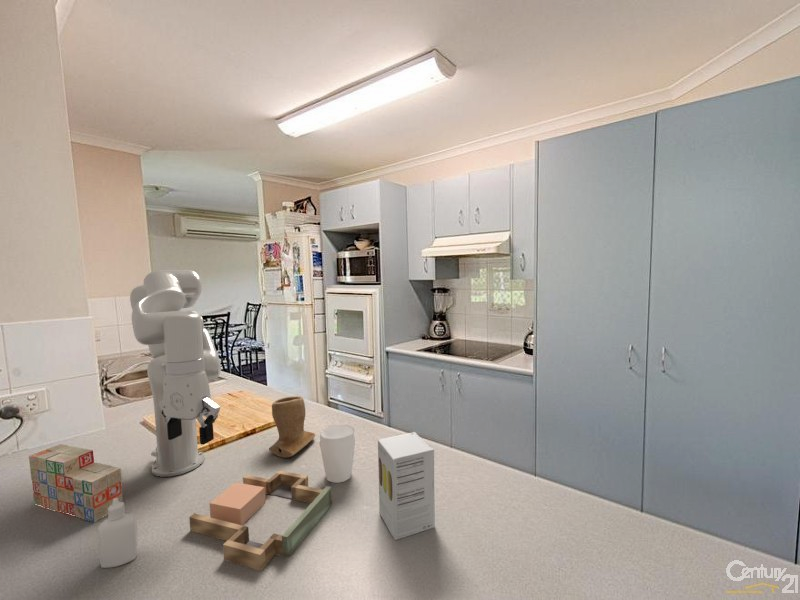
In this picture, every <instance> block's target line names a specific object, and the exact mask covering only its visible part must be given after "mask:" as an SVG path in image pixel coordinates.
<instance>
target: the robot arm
mask: <svg viewBox="0 0 800 600" xmlns="http://www.w3.org/2000/svg"><path fill="white" fill-rule="evenodd" d="M202 291H203V283H202V280H201V277H200V275H199V274H198V273H197V272H196V271H195V270H192V269H159V270H153V271H151V272H149V273H148V274H147V275H145V277H144V278H143V284H142V285H137V286H136V287H134V288H133V289H132V290H131V292H130V295H129V301H130V302H129V303H130V306H131V310H132V312H131V324H132V330H133V335H134V337H135V339H136V341H137V342H138V343H139V344H141V345H145V346H148V350H149V353H150V356H151V357H152V358H153V359H152V360H151V361H150V362H149V363H148V365H147V368H146V369H147V370H146V371H147V378H148V381H149V386H150V389H151V395H152V399H153V411H154V422H155V423H154V424H155V435H156V436H155V437H156V447H155V450H152V451H151V453H150V455H151V456H152V457H155V459H156V462H154V463H153V465H152V466H151V472H152V474H153V476H155V477H159V476H160V477H161V478H166V477H169V478H170V477H174V476H179V475H183V474H186V473H188V472H191V471H193V470H194V469H196V468H198V467H200V466H201V465H202V463H203V462H204V461H205V454H204V452H203V451H201V452H199V453H198V451H199V446H198V434H197V432H198V431H199V443H200V445H201V446H203V445H206V444H208V443H210V442H211V441H213V440H214V436H215V435H214V424H215V422H216V420H217V419H218V416H219V412H220V410H221V406H219V405H218V404H217V403H216V402H214V401H213V400H212V398H211V395H212V394H211V389H210V384H209V382H212V381H215V380H217V379H218V378H219V376H220V375H221V371H222V365H221V360H220V357H219V354H218V352H217V349H216V346H215V344H214V341H213V339H212V336H211V333H210V332H209V330H208V329H207V328H206V327H204V325H205V323H204V319H203V316H202V315H200V313H199V312H198V311H195V310H190V309H189V308H192V307H194V306H195V305H196V302H197V300H199V298H200V295H201V293H202ZM183 309H187V310H183ZM188 309H189V310H188ZM204 417H205V418H204ZM197 421H198V423H199V425H200V426H199V428H198V429H197ZM197 430H198V431H197ZM200 464H201V465H200Z"/></svg>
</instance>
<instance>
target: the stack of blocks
mask: <svg viewBox="0 0 800 600" xmlns="http://www.w3.org/2000/svg"><path fill="white" fill-rule="evenodd" d="M28 461H29V468H30V469H29V471H30V477H31V478H30V479H31V481H32V482H31V483H32V484H31V485H32V490H33V491H32V492H33V493H32V495H33V503H34V505H35V504H37V505H41V506H43V507H45V508H44V509H46V508H49V509H51V510H50V511H52V510H55V511H61V512H64V513H69V514H72V515H75V516H76V517H75V516H74V517H75V518H77V517H79V518H78V519H80V518H82V519H81V520H84V519H86V520H85V521H87V520H89V521H88V522H90V521H92V522H91V523H96V522H97V520H98V521H99V519H100V518H101V519H103V518H104V517H103V516H105V515H106V516H108V515H107V514H108V507H109V506H111V505H112V503H113V499H114V498H118V500H119V502H123V500H124V499H123V489H122V488H123V487H122V479H123V478H122V468H121V467H118V466H114V465H113V466H112V465H111V464H110V465H109V464H105V463H104V464H103V463H100V462H99V463H98V462H95V458H94V451H93V449H88V448H81V447H77V446H71V445H67V444H61V443H60V444H57V445H54V446H52V447H49V448H46V449H44V450H42V451H39V452H36V453H33V454H31V455H29V456H28ZM123 503H124V502H123ZM37 505H36V506H37ZM49 509H48V510H49ZM55 511H54V512H55ZM64 513H63V514H64ZM106 516H105V517H106ZM102 517H103V518H102ZM101 519H100V520H101ZM95 521H96V522H95Z"/></svg>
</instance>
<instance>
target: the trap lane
mask: <svg viewBox="0 0 800 600" xmlns="http://www.w3.org/2000/svg"><path fill="white" fill-rule="evenodd" d="M242 484H248V485H254V486H260V487H265V495H271V496H275V497H280V498H283V499H284V498H285V499H289V500H295V501H298V502H299V501H300V502H302V503H303V502H304V503H308V504H309V505H308V506H307V508H305V510H304V511H302V513H301V514H300V515H299V516H298V518H296V520H295V521H294V522H292V524H291V525H290V526H289V527H288V528H287V529H286V531H285V532H284V533H283V534H279V533H273V534H272V535H270V537H268V538H267V540H266V541H265V542H264V543H260V542H256V541H253V540H250V535H249V534H250V533H249V526H246V525H238V524H234V523H230V522H226V521H222V520H219V519H215V518H211V517H210V516H206V515H202V514H198V513H193V514H192V515H190V516H189V518H188V519H189V530H190V532H192V533H197V534H200V535H204V536H208V537H211V538H215V539H219V540H222V541H225V542H224V543H223V545H222V549H223V552H222V553H223V561H227V562H230V563H234V564H237V565H241V566H243V567H247V568H251V569H254V570H258V571H263V569H265V567H266V566H267V564H268V563H269V562H270V561H271V560H272V559H273V558H274V557H275V555H278V556H280V557H281V556H282V557H285V558H289V557H290V556H291V555H292V554H293V553H294V551H295V550H296V549H297V547H298V546H299V545H300V544H301V542H303V540H304V539H305V538H306V536H307V535H308V534H309V533H310V531H312V529H313V527H314V526H315V525H316V524H317V523H318V522H319V520H321V518H322V517H323V515H325V513H327V512H326V511H328V509H329V508H330V507H331V505H332V504H333V499H332V498H333V497H332V495H333V493H332V486H328V485H326V486H325V487H324V489H322V488H315V487H312V486H309V476H308V475H305V474H301V473H294V472H290V471H284V470H279V471H277V472H275V474H273V475H272V476H271V477H270V478H265V477H260V476H254V475H249V474H245V475H244V476H243V477H242Z"/></svg>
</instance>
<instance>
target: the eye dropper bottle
mask: <svg viewBox="0 0 800 600" xmlns="http://www.w3.org/2000/svg"><path fill="white" fill-rule="evenodd" d="M138 532H139V531H138V521H137V516H136V515H135V514H133V513H126V509H125V502H119V500H118V498H114V499H113V503H112V505H111V506H109V507H108V515H107V519H105V520H103V521H102V522H101V523H100V525H99V526H98V529H97V539H98V540H97V541H98V550H99V552H98V553H99V563H100V567H101V568H102V569H107V568H114V567H119V566H122V565H125V564H127V563H129V562H132V561H134V560H135V559H136V558H137V557H138V555H139V552H140V545H139V533H138Z"/></svg>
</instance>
